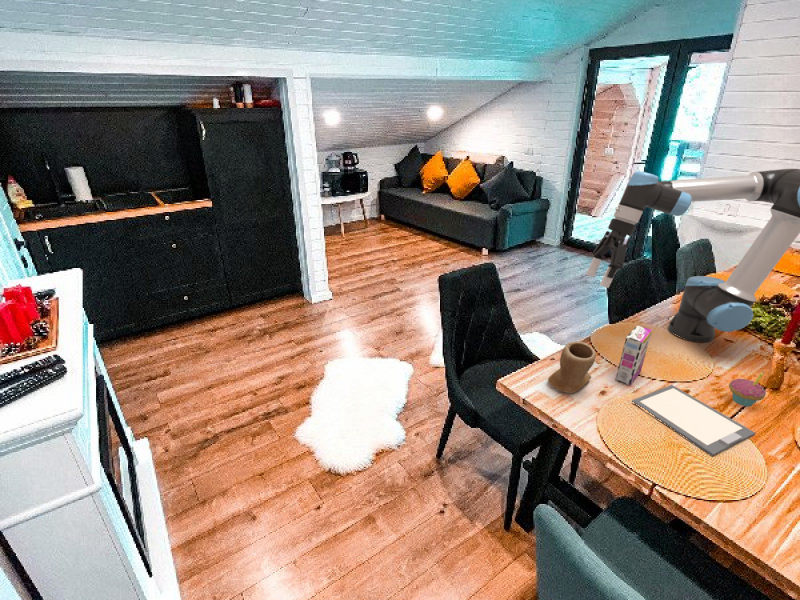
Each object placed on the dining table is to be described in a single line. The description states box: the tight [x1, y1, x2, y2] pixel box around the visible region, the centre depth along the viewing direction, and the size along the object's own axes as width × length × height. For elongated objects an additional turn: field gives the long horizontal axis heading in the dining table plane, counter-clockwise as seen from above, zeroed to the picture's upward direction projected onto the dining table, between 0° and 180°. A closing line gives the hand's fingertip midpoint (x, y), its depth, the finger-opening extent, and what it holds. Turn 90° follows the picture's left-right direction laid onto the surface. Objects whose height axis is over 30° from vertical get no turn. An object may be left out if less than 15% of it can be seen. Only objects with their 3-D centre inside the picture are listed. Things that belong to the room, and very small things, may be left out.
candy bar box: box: [614, 325, 653, 386], centre depth 136 cm, size 11×5×16 cm, turn 136°
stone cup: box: [547, 340, 596, 394], centre depth 134 cm, size 15×12×15 cm
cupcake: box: [728, 371, 766, 408], centre depth 124 cm, size 9×8×12 cm
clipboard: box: [631, 384, 756, 457], centre depth 120 cm, size 18×24×2 cm
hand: (596, 281), depth 143 cm, fingers open, 13 cm apart
